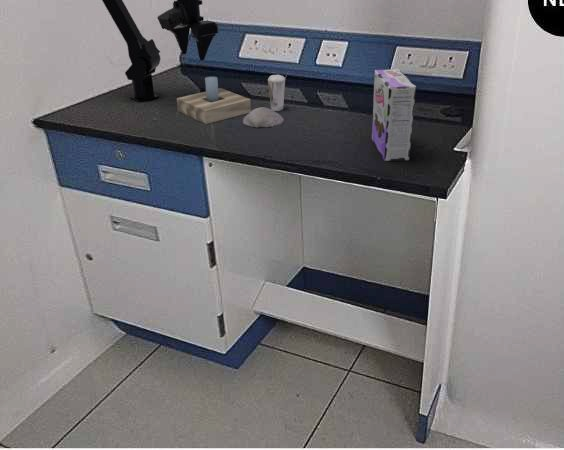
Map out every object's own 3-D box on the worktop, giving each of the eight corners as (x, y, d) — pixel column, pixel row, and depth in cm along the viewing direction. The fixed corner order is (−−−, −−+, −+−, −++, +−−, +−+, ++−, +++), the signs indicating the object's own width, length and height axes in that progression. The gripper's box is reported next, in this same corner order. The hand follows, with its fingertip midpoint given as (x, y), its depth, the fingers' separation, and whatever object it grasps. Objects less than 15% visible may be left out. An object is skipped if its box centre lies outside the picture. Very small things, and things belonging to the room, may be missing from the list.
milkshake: (286, 112, 165) (286, 74, 160) (267, 111, 166) (265, 73, 161) (290, 107, 169) (289, 70, 164) (270, 106, 170) (269, 69, 165)
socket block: (177, 111, 168) (176, 98, 166) (221, 100, 176) (220, 88, 174) (206, 124, 158) (204, 110, 157) (250, 112, 166) (250, 99, 164)
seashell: (235, 116, 155) (248, 96, 162) (238, 135, 158) (251, 114, 165) (274, 118, 152) (286, 98, 159) (277, 137, 155) (288, 116, 162)
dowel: (205, 111, 167) (202, 78, 163) (215, 109, 169) (212, 75, 165) (211, 114, 165) (209, 80, 161) (222, 111, 167) (219, 78, 162)
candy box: (370, 139, 147) (373, 69, 139) (395, 137, 147) (399, 67, 139) (383, 161, 135) (388, 86, 127) (410, 160, 135) (416, 85, 127)
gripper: (142, -4, 165) (150, 56, 173) (178, 4, 152) (185, 68, 160) (179, -9, 171) (185, 49, 179) (217, -1, 158) (221, 61, 166)
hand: (192, 57), depth 171 cm, fingers open, 9 cm apart
